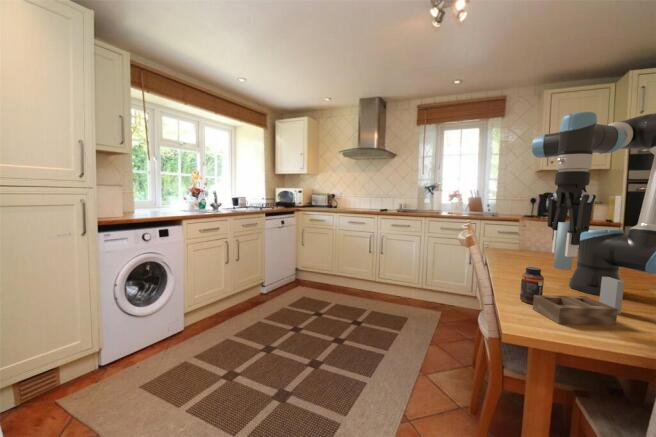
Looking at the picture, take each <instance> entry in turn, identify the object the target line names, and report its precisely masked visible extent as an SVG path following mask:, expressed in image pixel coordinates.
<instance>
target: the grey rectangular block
mask: <svg viewBox="0 0 656 437" xmlns="http://www.w3.org/2000/svg"><path fill="white" fill-rule="evenodd" d="M624 288H625V281H624V280H621V279H620V280H617V279H614V278H611V277H602V281H601V290H600V295H599V298H598V299H599V300H598V301H599V302H601V303H604V304H607V305H609V306H612V307H614V308H617V309H618V311H617V315H621V312H622V304H623V298H624Z"/></svg>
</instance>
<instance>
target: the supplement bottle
mask: <svg viewBox="0 0 656 437" xmlns="http://www.w3.org/2000/svg"><path fill="white" fill-rule="evenodd" d="M541 273H542V269H541V268H539V267H536V266H526V267H525V271H524V272H523V273H522V275H521V284H520V294H519V299H520V301H522V302H523V303H526V304H530V305H533V299H534V295H544V294H543V291H544V282H545V280H544V278H545V277H544V276H543V275H542V274H541Z"/></svg>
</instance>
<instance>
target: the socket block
mask: <svg viewBox="0 0 656 437" xmlns="http://www.w3.org/2000/svg"><path fill="white" fill-rule="evenodd" d="M532 310H533V311H534V312H537V313H538V314H540V315H542V316H544V317H546V318H547V319H549V320H551V321H553V322H554V323H556V324H558V325H593V326H594V325H599V326H601V325H604V326H616V325H617V317H618V314H617V311H618V309H617V308H614V307H612V306H609V305H607V304H604V303H601V302H599V300H596V299H593V298H591V297H589V296H587V295H555V294H554V295H550V294H548V295H546V294H545V295H544V294H542V295H534V299H533V304H532Z"/></svg>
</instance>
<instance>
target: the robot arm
mask: <svg viewBox="0 0 656 437" xmlns="http://www.w3.org/2000/svg"><path fill="white" fill-rule="evenodd" d="M561 118H562V119H561V122H560V126H559V131H558V132H553V133H544V134H542V135H537V136H536V137H535V138H533V139H532V142H531V149H530V150H531V153H532V155H533V156H534V157H536V158H538V159H542V158H545V159H546V158H553V157H554V158H555V157H557V160H556V166H555V169H556V173H555V175H554V185H555V186H557V188H556V190H555V193H549V194H548V195H547V197H548V210H547V212H548V213H547V227H548V228H551V229H552V248H551V253H553V254H555V248H556V239H557V230H558V222H566V219H567V216H568V215H569V216H568V217H569V218H568V219H569V223H570V231H568V233H567V240H566V250H565V256H568V257H573V258H574V257H575V258H577V259H576V260H577V261H576V268H575V269H574V272H573V273H572V275H571V277H570V278H569V281H568V286H569V287H570V288H571V289H573V290H576V291H579V292H582V293H587V294H590V295H596V296H600V290H601V281H602V277H611V278H614V279H617V280H621V277H620V274H619V270H620V268H622V269H628V270H632V271H633V270H634V271H638V272H641V273H643V272H644V273H647V274H649V275H656V112H655V113H648V114H644V115H643V114H642V115H639V116H634V117H632V118H628V119H625V120H620V121H614V122H612V123H609V124H600V123H597V122H598V120H597V118H598V117H597V114H596V112H594V111H580V112H573V113H569V114H566V115H564V116H563V117H561ZM621 149H623V150H624V149H625V150H627V149H629V150H634V149H635V150H637V149H638V150H639V149H649V152H650V153H651V154H653V155H654V156H653V157H654V158H653V161H652V166H651V169H650V173H649V177H648V182H647V185H646V190H645V193H644V197H643V201H642V205H641V209H640V214H639V217H638V221H637V224H636V225H634V226H632V227H629V231H628V233H625V231H624V230H623V229H621V228H618V229H615V228H614V229H612V228H609V229H607V228H605V229H604V228H603V229H599V228H598V229H594V228H593V229H590V225H591V219H592V211H593V207H594V206H593V204H594V202H595V201H596V199H597V195H595V194H590V193H588V192H587V189H586V187H587V186H589V185H590V181H591V180H590V179H591V172H590V170H592V167H593V166H592V162H593V154H596V153H597V154H601V155H602V154H611V153H614V152H616V151H618V150H621ZM568 213H569V214H568Z"/></svg>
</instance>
